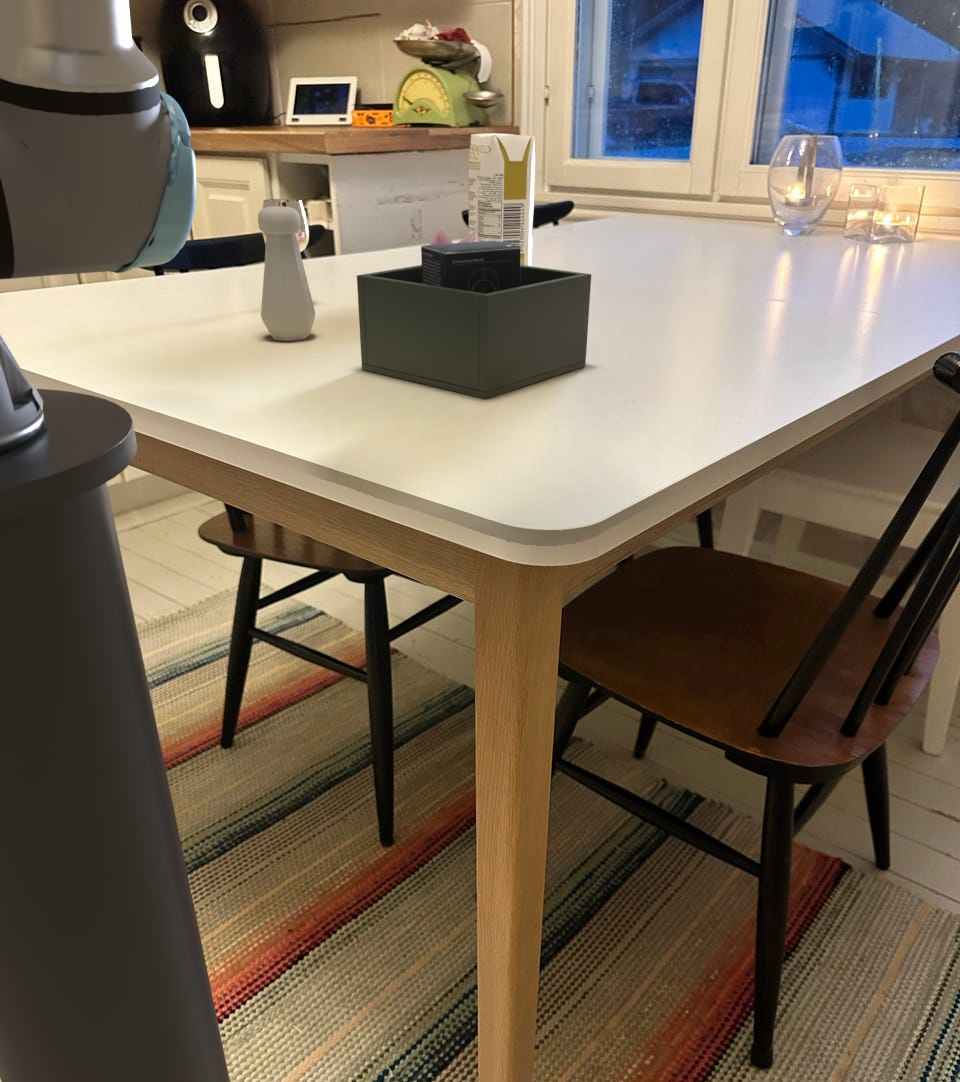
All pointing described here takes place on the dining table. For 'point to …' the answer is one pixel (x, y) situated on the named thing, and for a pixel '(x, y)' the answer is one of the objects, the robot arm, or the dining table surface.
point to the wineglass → (298, 205)
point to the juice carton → (502, 190)
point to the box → (472, 266)
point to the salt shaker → (284, 277)
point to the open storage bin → (474, 330)
